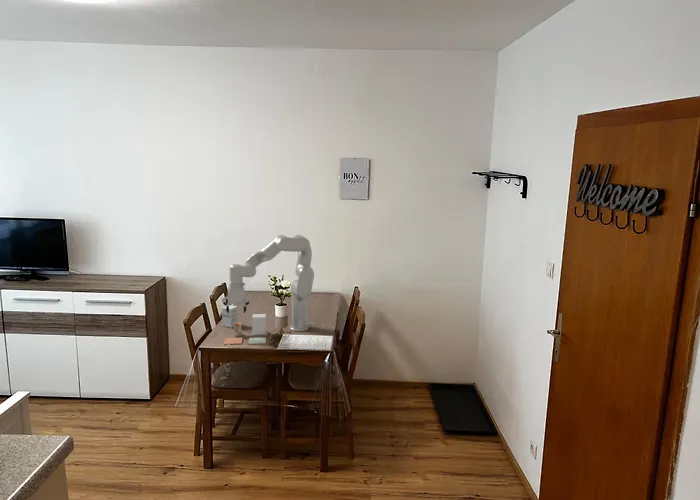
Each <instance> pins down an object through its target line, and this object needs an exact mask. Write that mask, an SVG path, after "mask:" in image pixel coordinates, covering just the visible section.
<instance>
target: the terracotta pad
mask: <svg viewBox="0 0 700 500" xmlns="http://www.w3.org/2000/svg"><path fill="white" fill-rule="evenodd" d="M228 344H232V345H242V344H243V337H226V338H225V339H224V342H223V345H224V346H228Z"/></svg>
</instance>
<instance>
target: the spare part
mask: <svg viewBox="0 0 700 500" xmlns="http://www.w3.org/2000/svg"><path fill="white" fill-rule="evenodd" d="M233 330H234V331H233V335H234V337H233V338H242V321H238V322H234V327H233Z"/></svg>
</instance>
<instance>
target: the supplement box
mask: <svg viewBox="0 0 700 500" xmlns="http://www.w3.org/2000/svg"><path fill="white" fill-rule="evenodd" d="M221 315H222V316H221V317H222V321H221V322H222V327H226V328H231V329H232V328H234V322H239V306H238V305H233V304H229V313H227V311H226V306H225V305H224V306H223V307H221Z"/></svg>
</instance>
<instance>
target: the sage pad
mask: <svg viewBox="0 0 700 500" xmlns="http://www.w3.org/2000/svg"><path fill="white" fill-rule="evenodd" d="M266 344H267V337H248V345H266Z"/></svg>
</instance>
